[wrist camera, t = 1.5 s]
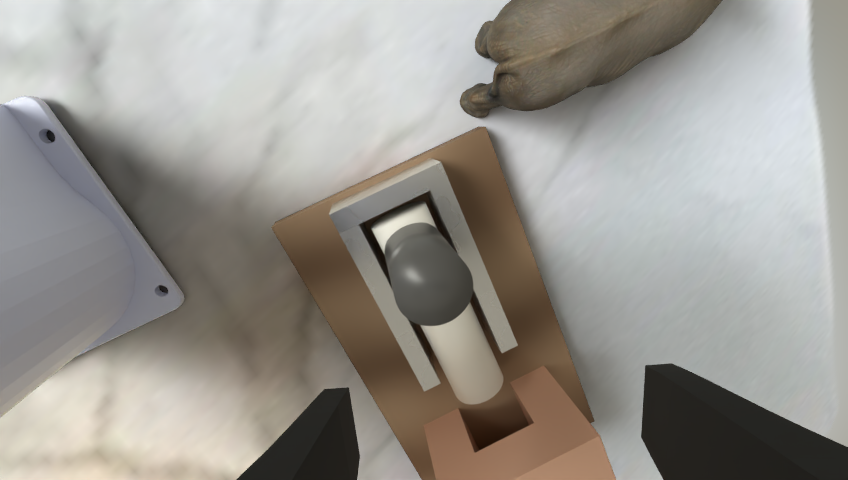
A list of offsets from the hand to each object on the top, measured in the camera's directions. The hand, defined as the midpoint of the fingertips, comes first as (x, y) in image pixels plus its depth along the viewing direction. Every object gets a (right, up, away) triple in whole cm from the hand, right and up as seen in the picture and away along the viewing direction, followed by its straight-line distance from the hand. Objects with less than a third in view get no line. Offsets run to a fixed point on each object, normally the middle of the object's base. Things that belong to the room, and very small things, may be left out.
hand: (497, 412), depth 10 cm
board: (0, -1, +11) cm, 11 cm away
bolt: (-1, +2, +9) cm, 9 cm away
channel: (-2, +3, +9) cm, 9 cm away
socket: (+2, -6, +12) cm, 13 cm away
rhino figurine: (+6, +14, +8) cm, 17 cm away
